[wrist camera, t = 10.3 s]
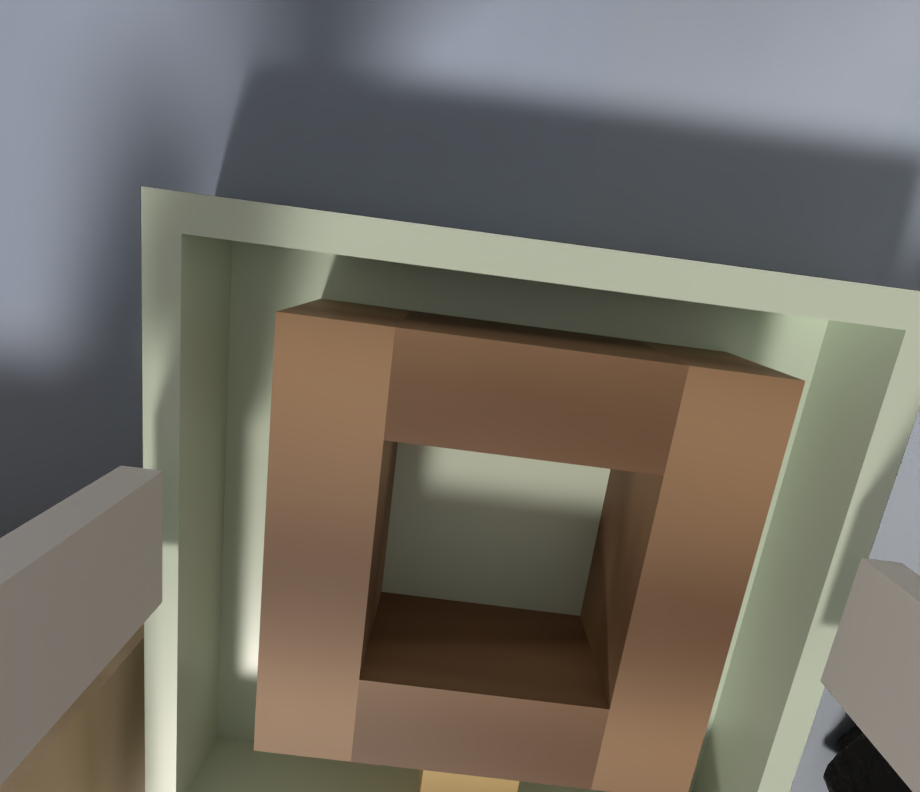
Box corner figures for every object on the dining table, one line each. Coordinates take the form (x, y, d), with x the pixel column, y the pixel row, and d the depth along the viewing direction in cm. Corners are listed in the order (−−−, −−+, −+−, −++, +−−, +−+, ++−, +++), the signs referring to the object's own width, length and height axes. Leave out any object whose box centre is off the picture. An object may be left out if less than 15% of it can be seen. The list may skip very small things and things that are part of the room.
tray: (200, 736, 16) (145, 835, 13) (212, 202, 12) (141, 186, 10) (703, 794, 16) (751, 903, 13) (851, 287, 13) (957, 295, 10)
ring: (321, 298, 12) (276, 311, 9) (725, 352, 12) (805, 381, 10) (292, 715, 15) (249, 826, 12) (627, 754, 15) (665, 873, 12)
